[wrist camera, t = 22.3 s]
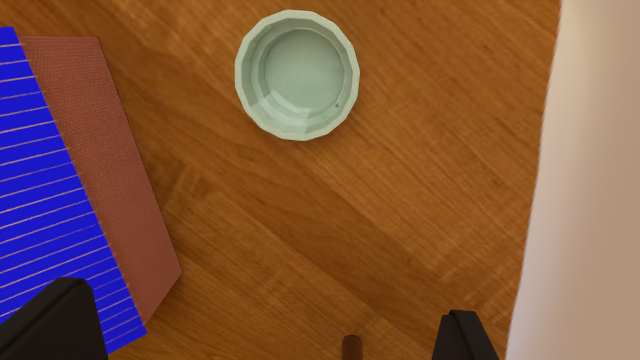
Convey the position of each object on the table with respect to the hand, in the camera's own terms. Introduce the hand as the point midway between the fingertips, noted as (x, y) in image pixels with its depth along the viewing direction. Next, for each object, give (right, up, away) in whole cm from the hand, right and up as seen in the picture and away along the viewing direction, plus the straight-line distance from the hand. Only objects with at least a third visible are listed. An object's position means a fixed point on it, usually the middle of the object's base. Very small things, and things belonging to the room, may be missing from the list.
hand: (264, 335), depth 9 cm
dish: (+1, +11, +14) cm, 18 cm away
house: (-18, +4, +19) cm, 26 cm away
